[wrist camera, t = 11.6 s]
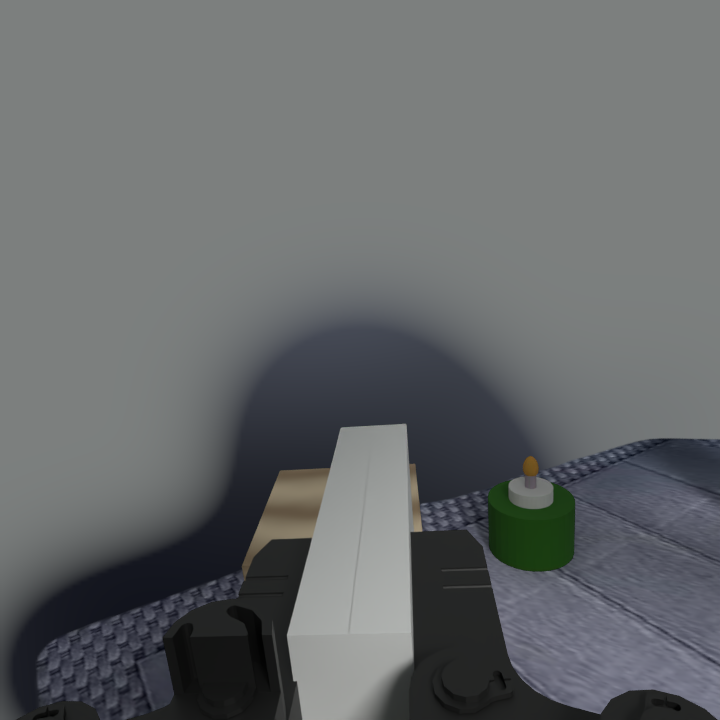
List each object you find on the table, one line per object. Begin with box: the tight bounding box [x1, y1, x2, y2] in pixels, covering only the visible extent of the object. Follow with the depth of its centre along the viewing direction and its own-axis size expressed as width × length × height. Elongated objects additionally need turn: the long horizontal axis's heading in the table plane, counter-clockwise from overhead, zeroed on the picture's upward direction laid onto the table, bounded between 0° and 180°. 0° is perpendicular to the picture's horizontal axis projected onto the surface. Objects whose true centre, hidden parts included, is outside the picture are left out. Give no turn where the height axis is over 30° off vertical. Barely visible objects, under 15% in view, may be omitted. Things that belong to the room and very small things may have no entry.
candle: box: [488, 456, 575, 571], centre depth 58 cm, size 8×8×10 cm
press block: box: [242, 464, 422, 581], centre depth 44 cm, size 21×16×12 cm
